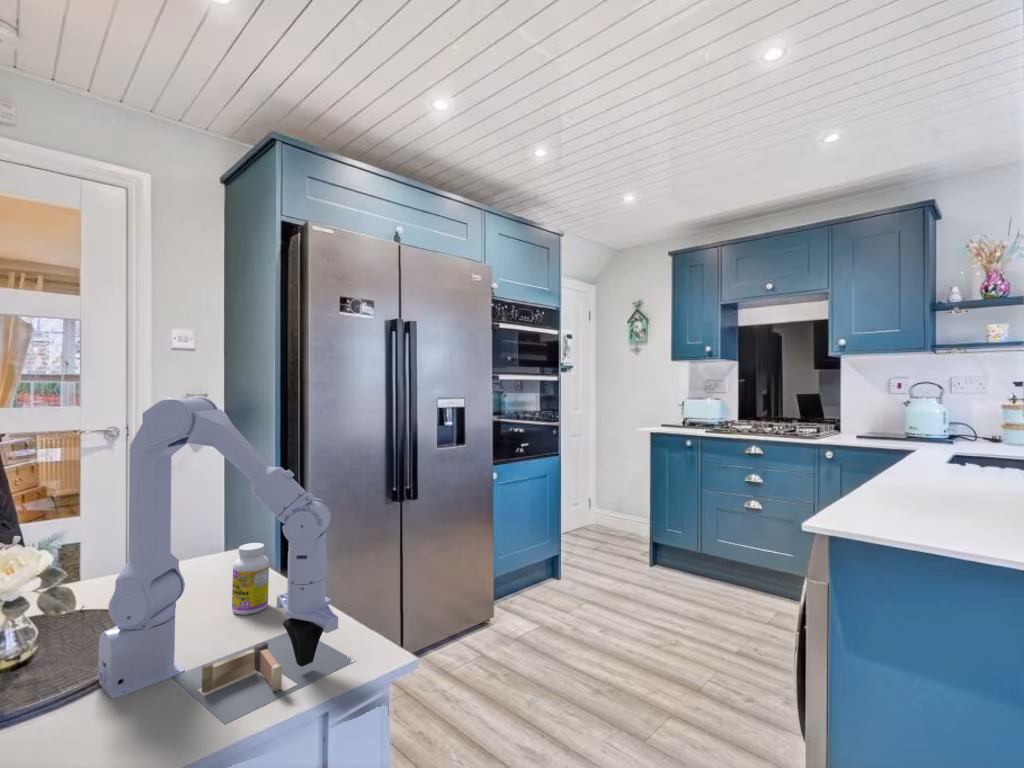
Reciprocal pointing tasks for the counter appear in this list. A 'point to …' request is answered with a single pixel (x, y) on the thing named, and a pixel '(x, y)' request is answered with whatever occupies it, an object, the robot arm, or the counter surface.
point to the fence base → (231, 668)
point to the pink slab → (271, 670)
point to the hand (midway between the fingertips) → (305, 663)
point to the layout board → (261, 679)
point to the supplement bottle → (250, 580)
